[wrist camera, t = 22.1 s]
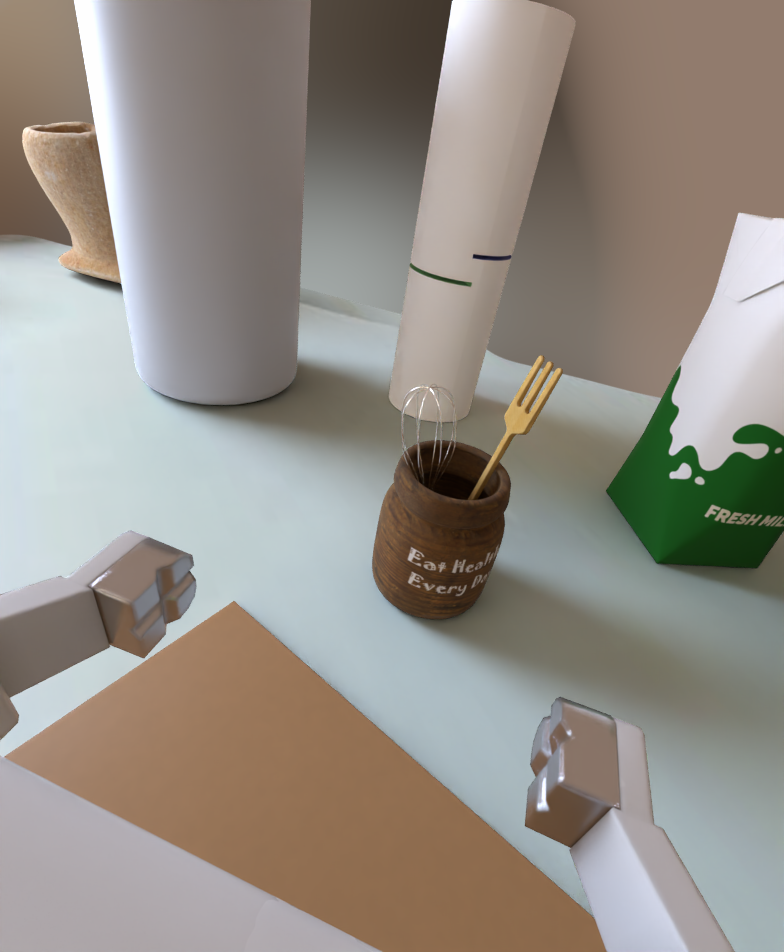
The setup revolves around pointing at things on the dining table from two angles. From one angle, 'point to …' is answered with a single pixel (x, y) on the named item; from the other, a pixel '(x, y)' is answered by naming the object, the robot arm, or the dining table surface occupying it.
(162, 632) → the robot arm
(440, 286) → the cylindrical container
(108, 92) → the cylinder vase
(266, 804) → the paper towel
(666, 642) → the dining table surface
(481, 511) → the utensil holder
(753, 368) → the milk carton
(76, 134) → the stone cup
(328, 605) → the dining table surface
